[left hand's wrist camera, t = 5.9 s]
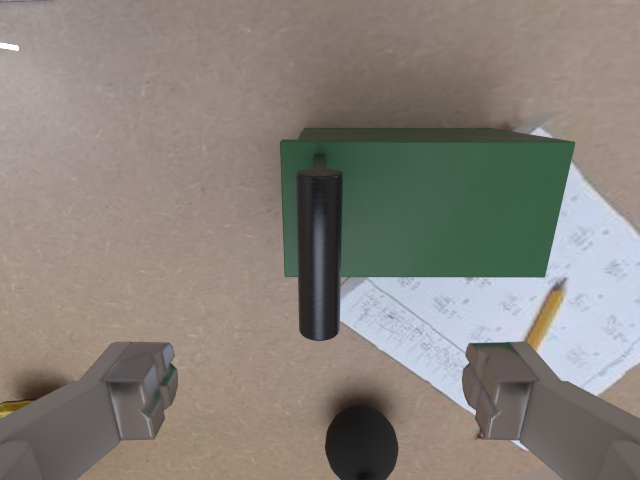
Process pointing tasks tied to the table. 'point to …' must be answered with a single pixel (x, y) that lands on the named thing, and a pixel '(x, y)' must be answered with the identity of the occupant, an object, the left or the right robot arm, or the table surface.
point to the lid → (415, 213)
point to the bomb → (361, 444)
